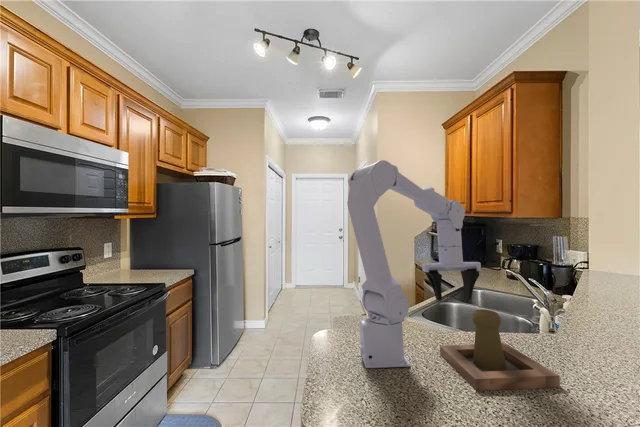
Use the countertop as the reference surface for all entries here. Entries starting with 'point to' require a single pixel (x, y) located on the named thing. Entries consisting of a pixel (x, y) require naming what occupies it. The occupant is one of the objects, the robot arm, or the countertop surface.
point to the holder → (516, 375)
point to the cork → (488, 341)
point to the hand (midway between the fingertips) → (453, 298)
